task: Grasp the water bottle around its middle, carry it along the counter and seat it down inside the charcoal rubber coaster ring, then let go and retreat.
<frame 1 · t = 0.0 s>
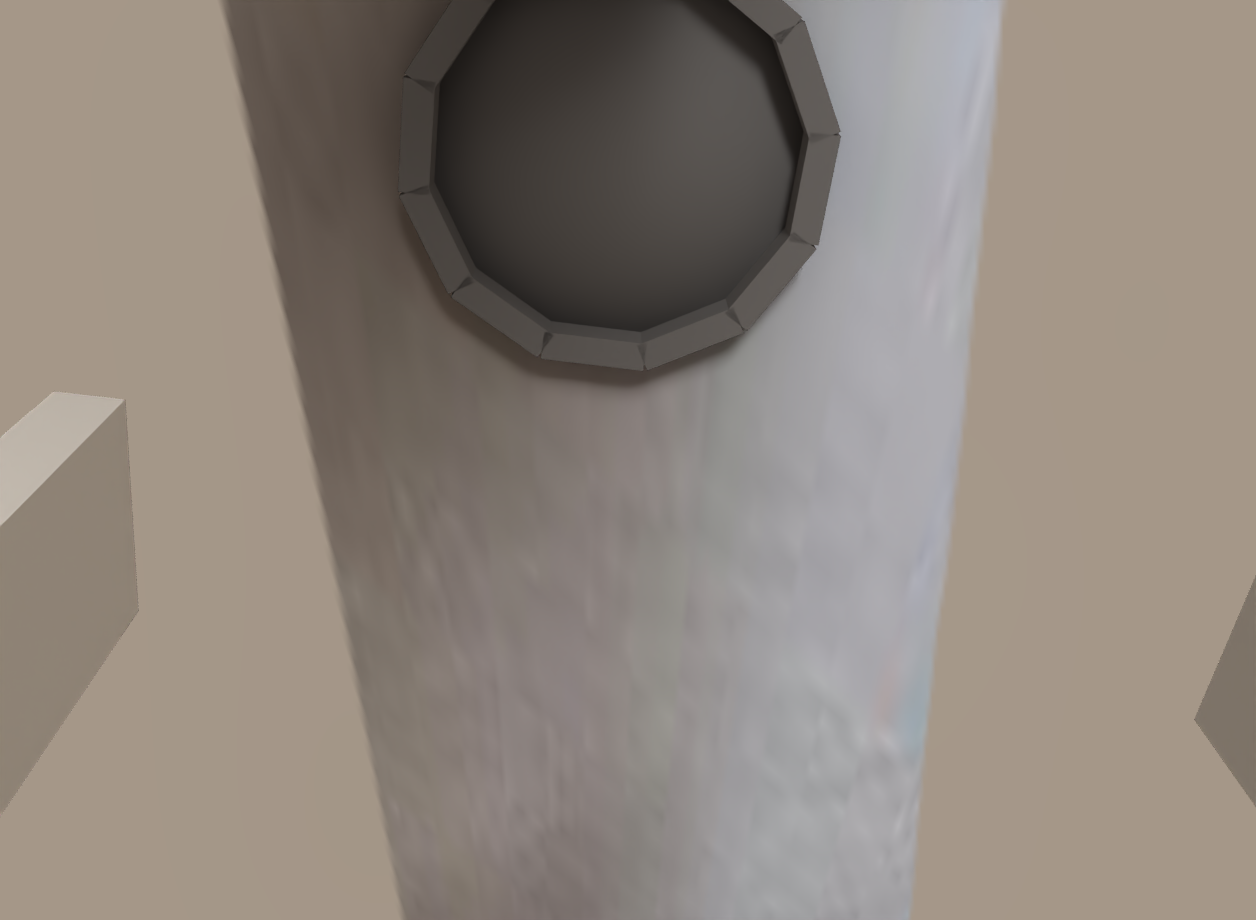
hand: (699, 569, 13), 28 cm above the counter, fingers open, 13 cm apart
coaster ring: (617, 154, 39), on the counter
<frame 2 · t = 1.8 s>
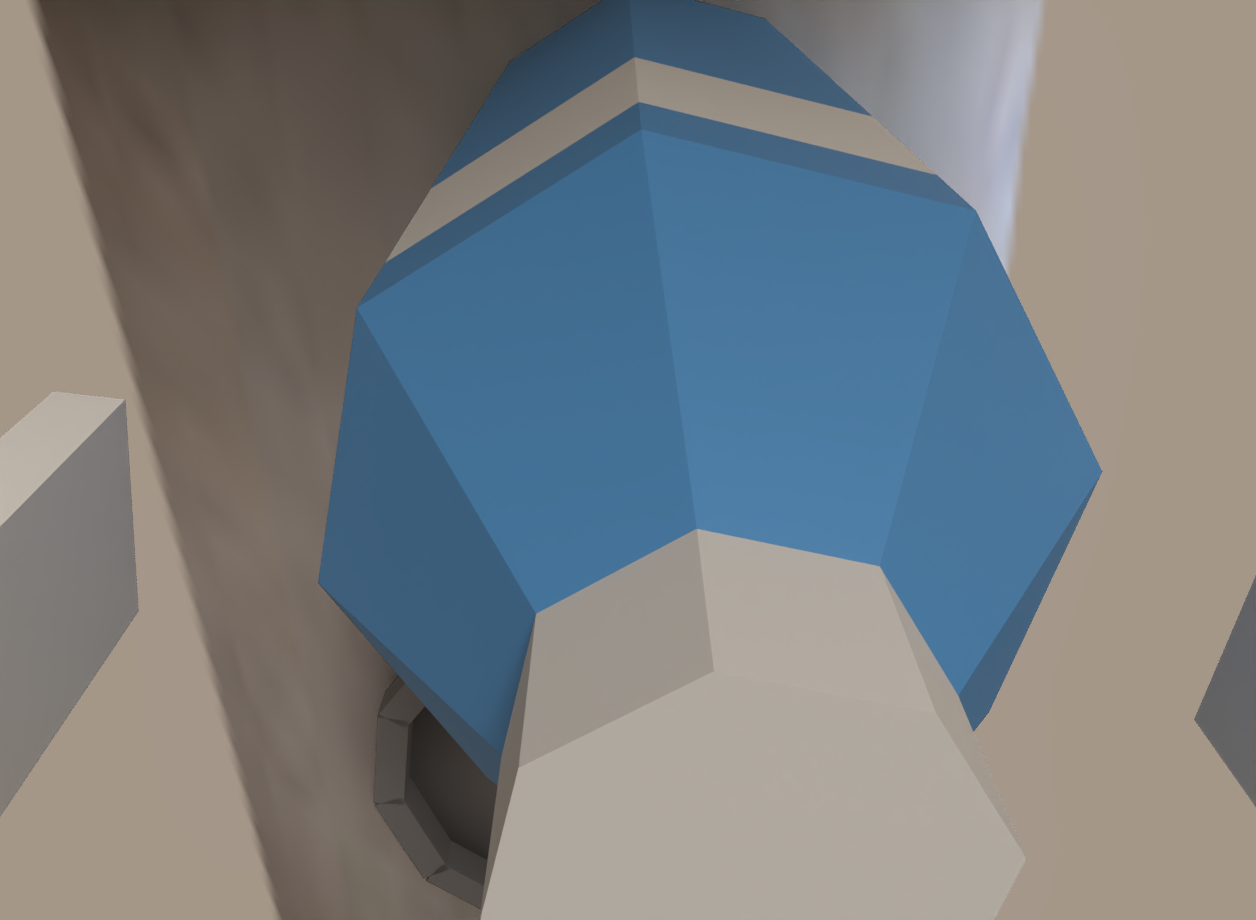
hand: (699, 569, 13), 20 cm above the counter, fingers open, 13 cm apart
water bottle: (655, 166, 31), on the counter
coaster ring: (588, 749, 40), on the counter
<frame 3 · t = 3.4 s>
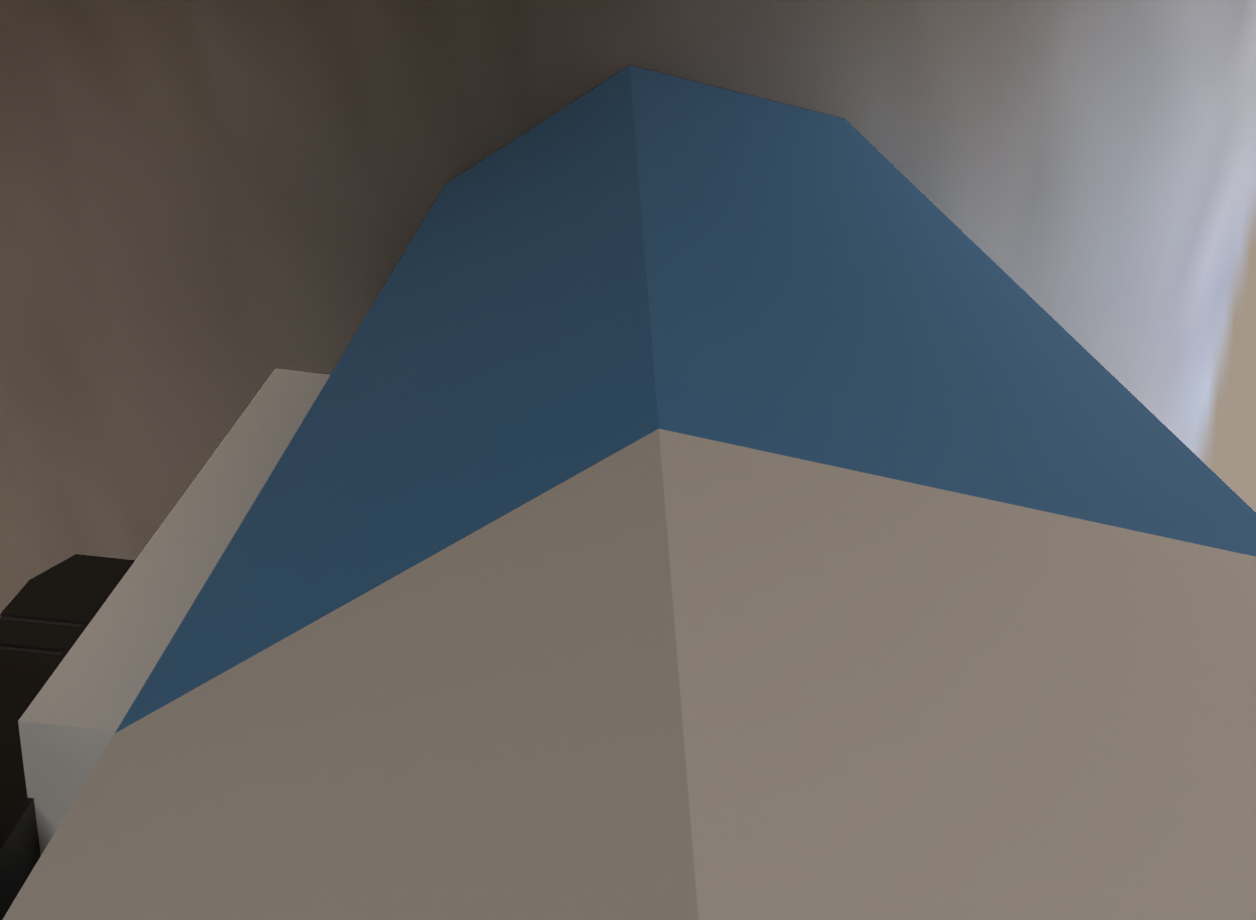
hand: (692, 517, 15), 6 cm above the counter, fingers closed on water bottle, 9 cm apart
water bottle: (670, 336, 21), on the counter, touching gripper
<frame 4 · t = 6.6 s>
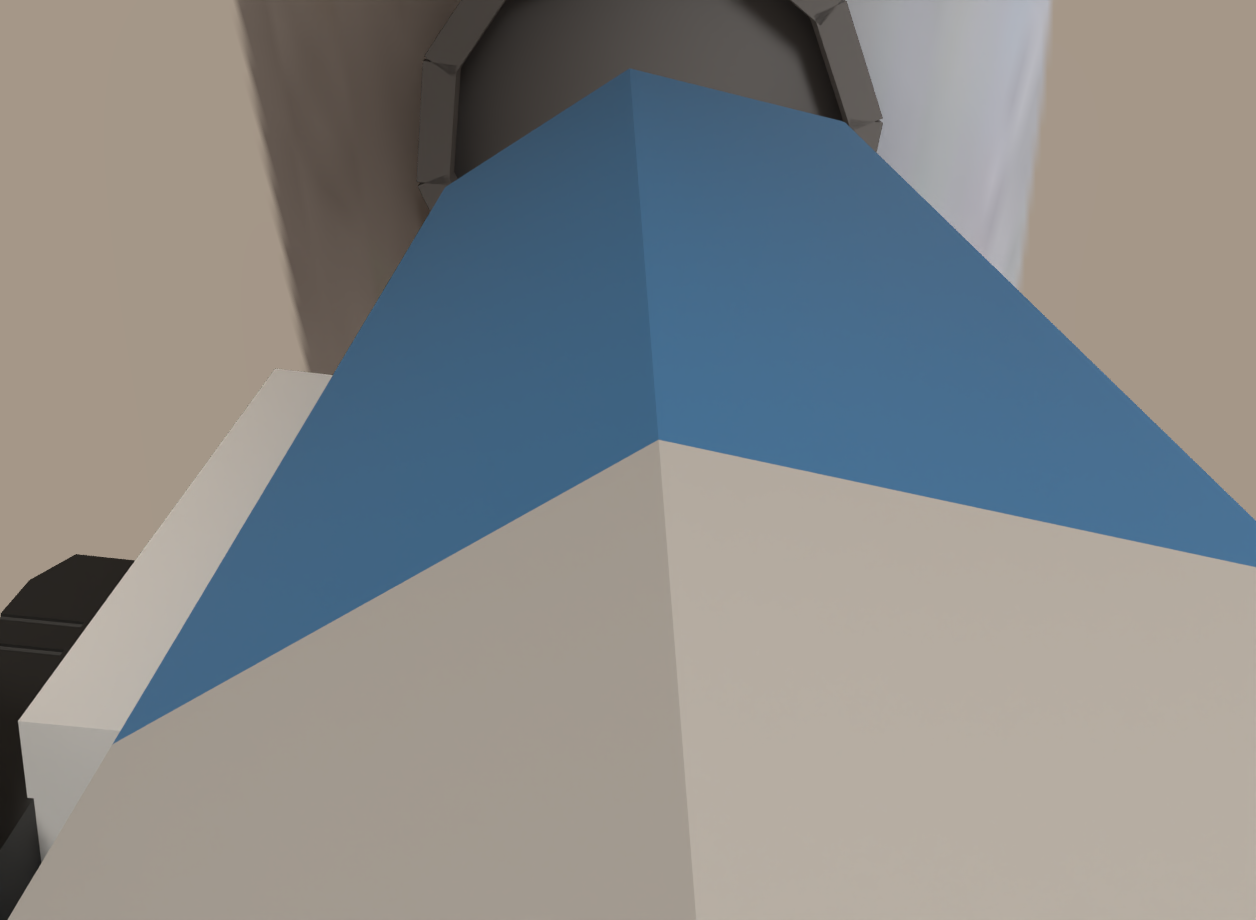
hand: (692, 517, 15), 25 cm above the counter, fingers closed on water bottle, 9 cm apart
water bottle: (670, 339, 21), point 18 cm above the counter, touching gripper
coaster ring: (646, 142, 37), on the counter
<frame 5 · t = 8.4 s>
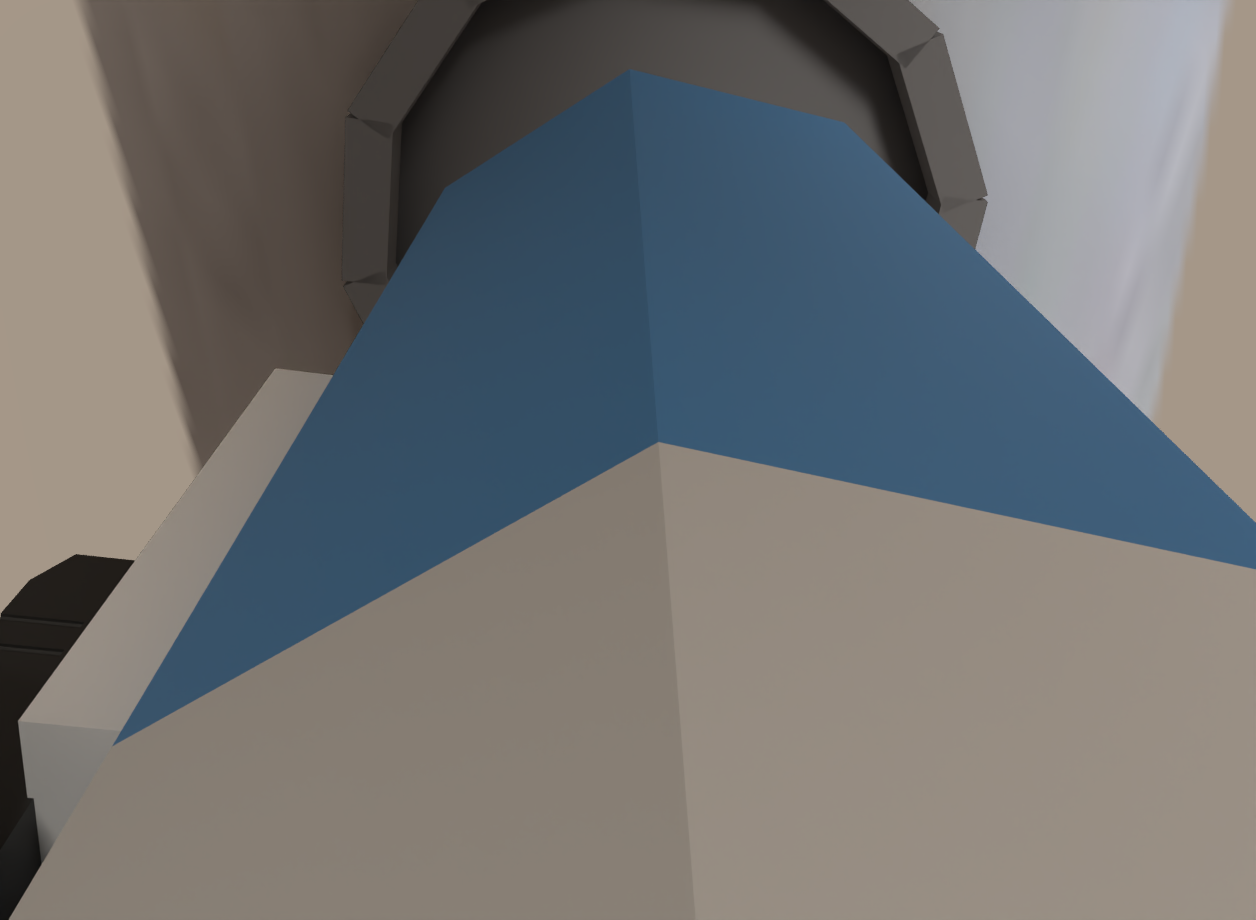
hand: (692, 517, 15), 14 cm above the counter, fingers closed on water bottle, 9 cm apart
water bottle: (670, 339, 21), point 7 cm above the counter, touching gripper
coaster ring: (658, 223, 27), on the counter
when the fingers open (8 cm above the counter, at t = 10.1 s): water bottle drops 1 cm, resting on coaster ring.
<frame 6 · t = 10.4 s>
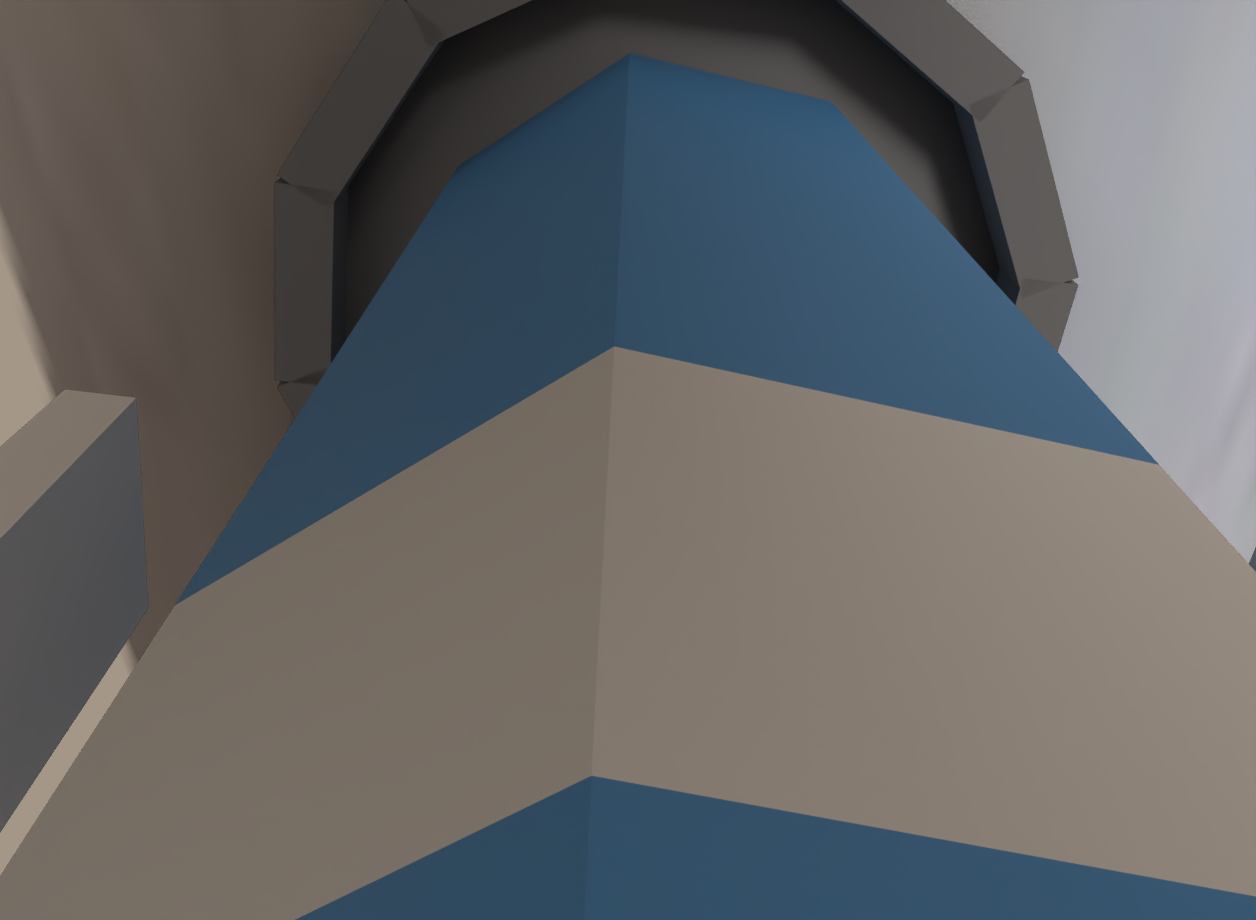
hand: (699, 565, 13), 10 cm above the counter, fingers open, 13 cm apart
water bottle: (670, 308, 22), resting on coaster ring
coaster ring: (666, 305, 22), on the counter
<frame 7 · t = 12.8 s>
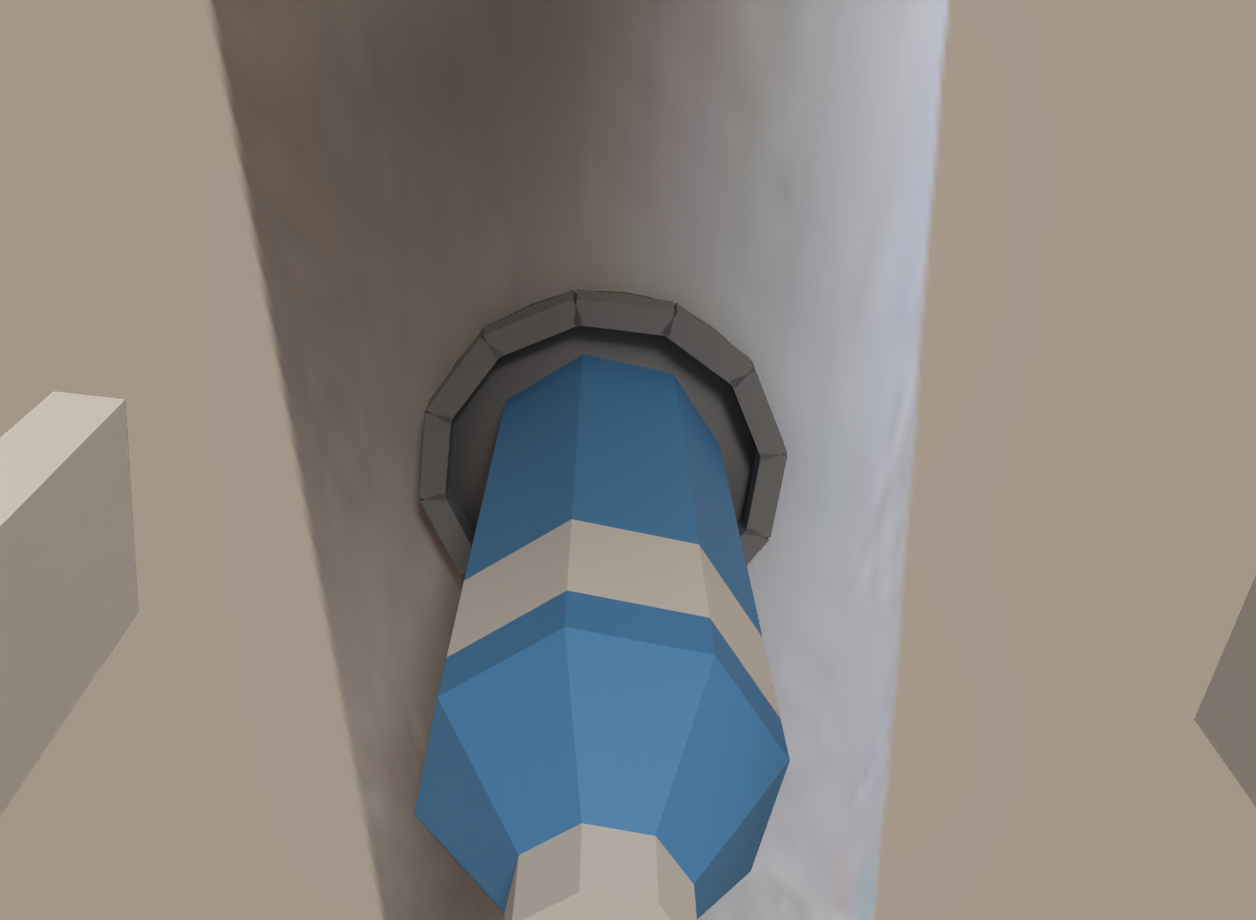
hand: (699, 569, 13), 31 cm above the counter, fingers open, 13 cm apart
water bottle: (603, 461, 46), resting on coaster ring
coaster ring: (602, 460, 47), on the counter
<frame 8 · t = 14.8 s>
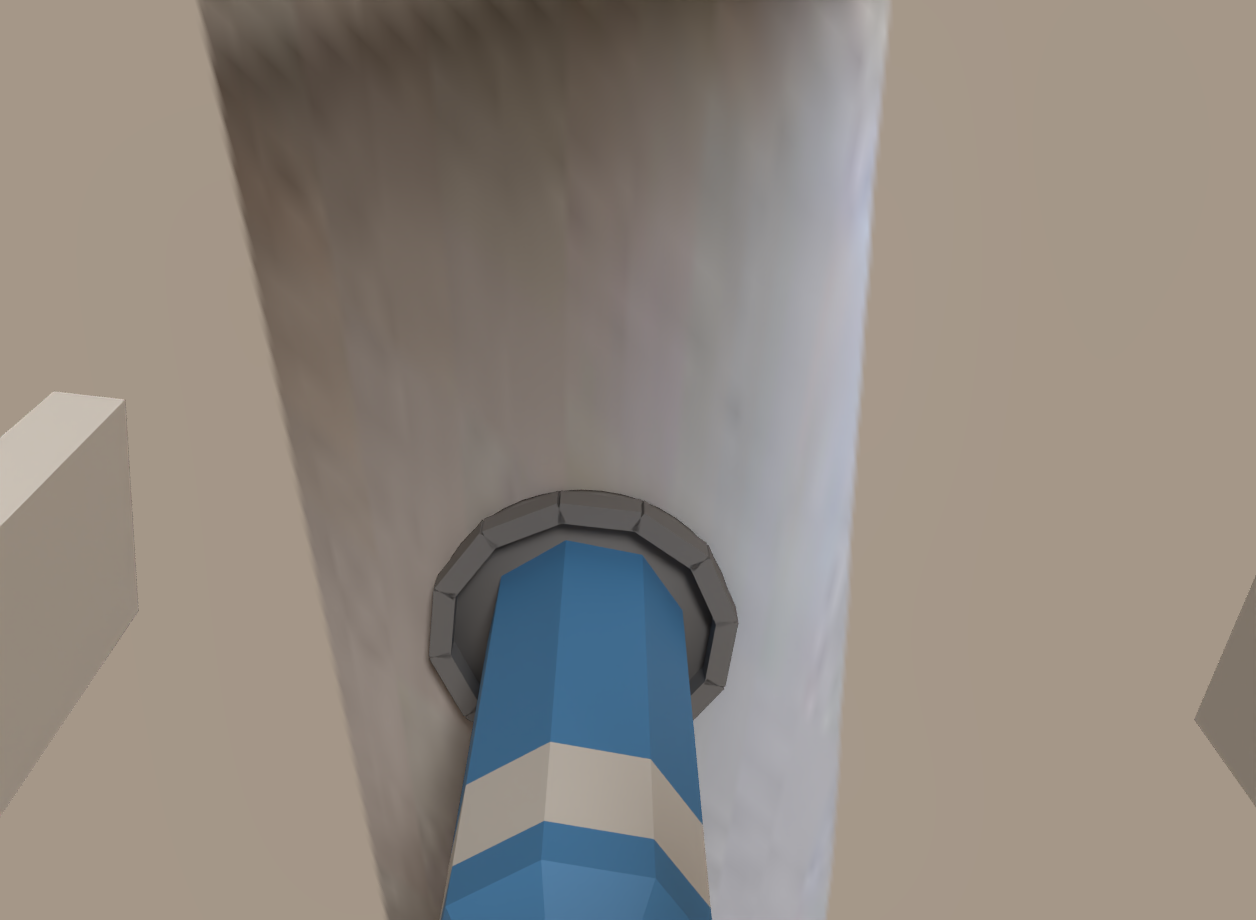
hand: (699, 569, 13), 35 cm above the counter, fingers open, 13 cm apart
water bottle: (584, 622, 55), resting on coaster ring
coaster ring: (583, 620, 55), on the counter
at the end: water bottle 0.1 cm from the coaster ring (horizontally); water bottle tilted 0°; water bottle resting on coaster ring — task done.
